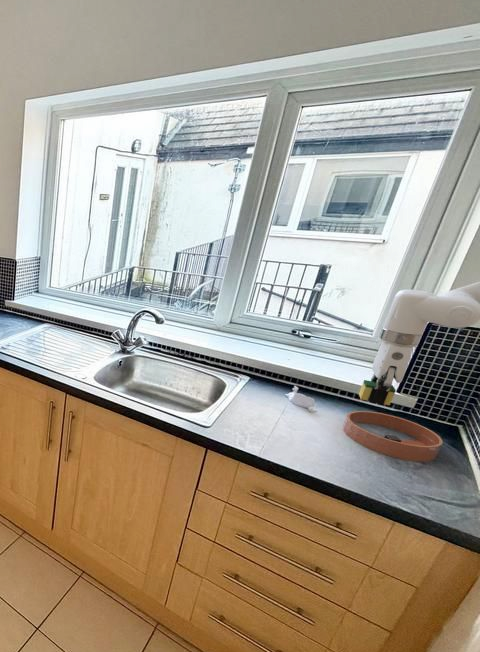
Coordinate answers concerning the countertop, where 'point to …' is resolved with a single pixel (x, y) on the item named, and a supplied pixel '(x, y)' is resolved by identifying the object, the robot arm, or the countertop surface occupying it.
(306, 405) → the wrapped candy
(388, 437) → the crumb
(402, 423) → the terracotta oval ring
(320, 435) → the countertop surface
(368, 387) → the sponge
